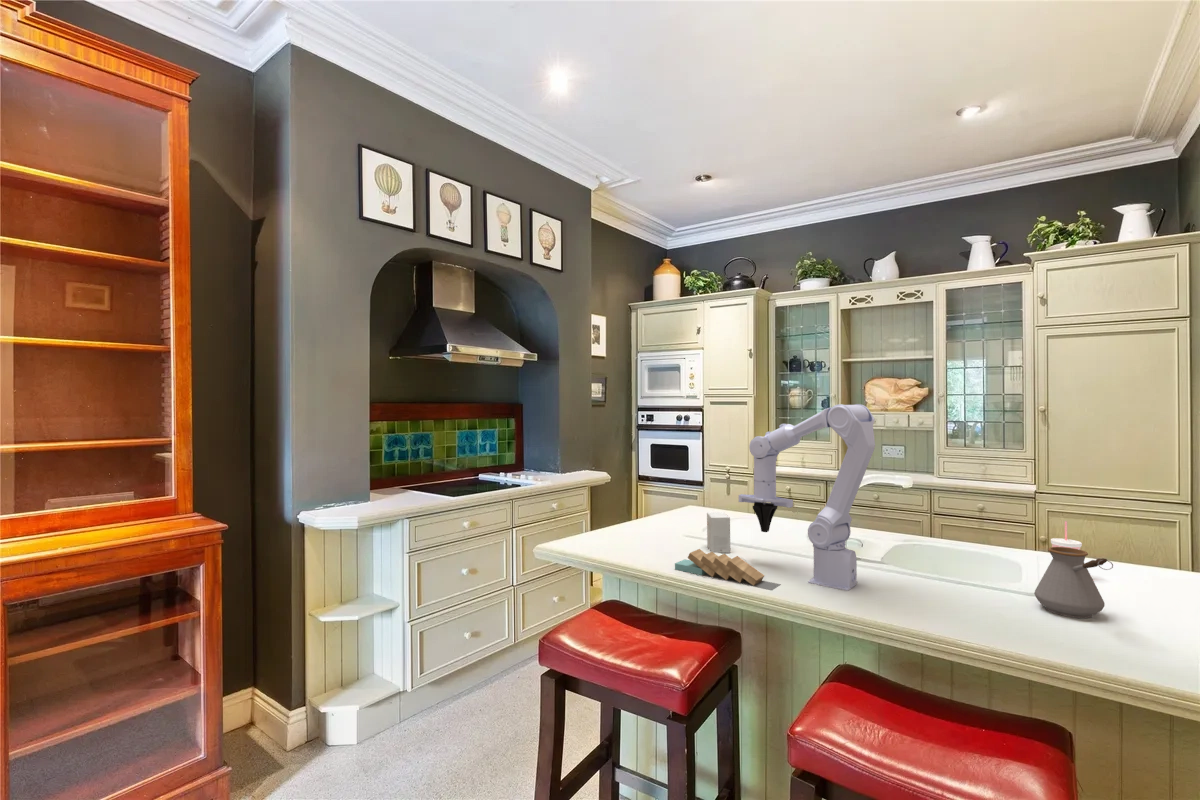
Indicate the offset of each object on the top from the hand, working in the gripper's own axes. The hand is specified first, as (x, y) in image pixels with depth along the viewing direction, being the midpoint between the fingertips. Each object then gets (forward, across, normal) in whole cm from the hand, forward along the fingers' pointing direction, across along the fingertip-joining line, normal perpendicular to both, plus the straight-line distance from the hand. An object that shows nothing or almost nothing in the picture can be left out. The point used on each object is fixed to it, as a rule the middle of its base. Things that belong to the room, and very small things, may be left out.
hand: (765, 531), depth 155 cm
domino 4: (+8, +5, -16) cm, 19 cm away
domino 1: (+8, -6, -16) cm, 19 cm away
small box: (+10, -18, +8) cm, 22 cm away
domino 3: (+8, +2, -16) cm, 18 cm away
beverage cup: (+10, +63, +38) cm, 74 cm away
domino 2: (+8, -2, -16) cm, 18 cm away
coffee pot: (+10, +65, +3) cm, 66 cm away
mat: (+9, -1, -16) cm, 19 cm away
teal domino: (+8, -9, -16) cm, 20 cm away
